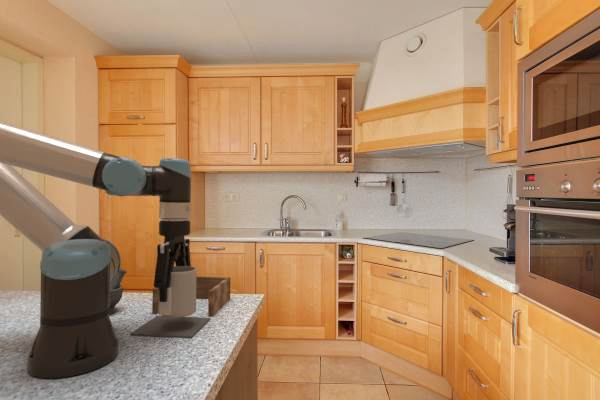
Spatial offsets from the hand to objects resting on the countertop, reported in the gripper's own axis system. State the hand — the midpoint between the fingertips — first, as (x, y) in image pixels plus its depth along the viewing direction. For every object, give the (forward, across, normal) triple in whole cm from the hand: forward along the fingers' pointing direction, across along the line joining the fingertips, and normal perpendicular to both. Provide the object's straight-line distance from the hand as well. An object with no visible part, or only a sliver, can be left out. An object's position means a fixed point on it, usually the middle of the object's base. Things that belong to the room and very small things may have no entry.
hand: (173, 308), depth 89 cm
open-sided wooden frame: (+5, +18, +2) cm, 18 cm away
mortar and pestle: (+5, +9, +24) cm, 26 cm away
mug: (+1, +1, 0) cm, 1 cm away
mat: (+5, 0, 0) cm, 5 cm away
